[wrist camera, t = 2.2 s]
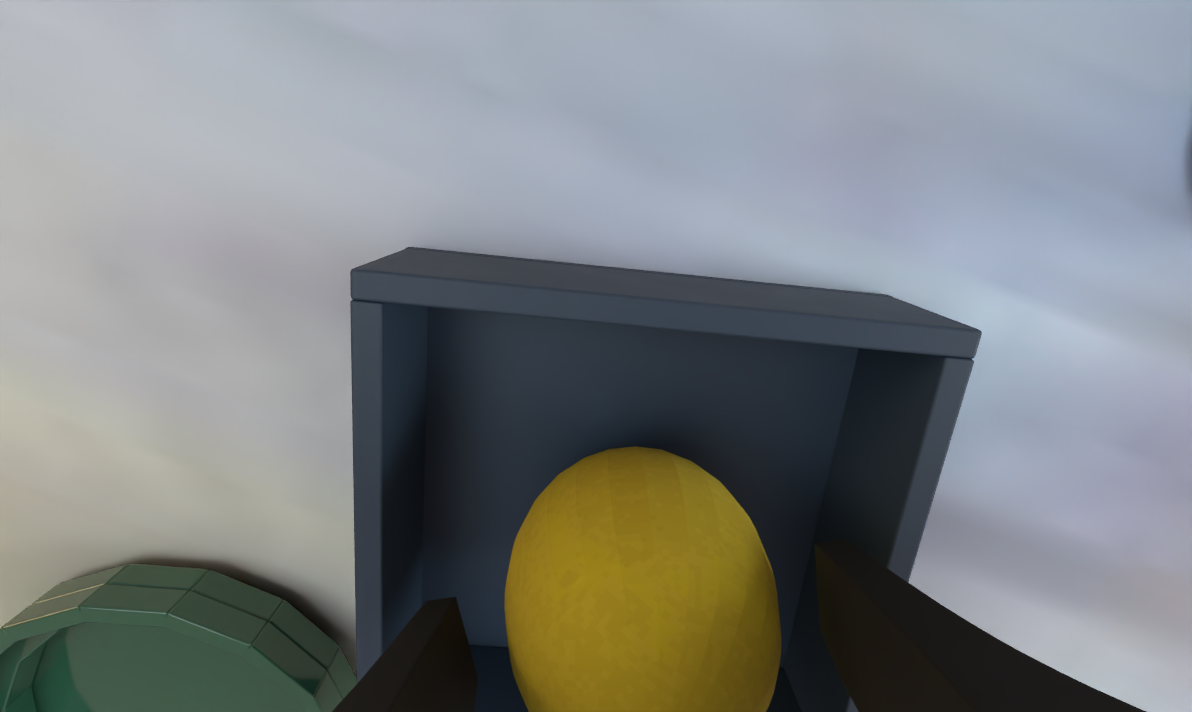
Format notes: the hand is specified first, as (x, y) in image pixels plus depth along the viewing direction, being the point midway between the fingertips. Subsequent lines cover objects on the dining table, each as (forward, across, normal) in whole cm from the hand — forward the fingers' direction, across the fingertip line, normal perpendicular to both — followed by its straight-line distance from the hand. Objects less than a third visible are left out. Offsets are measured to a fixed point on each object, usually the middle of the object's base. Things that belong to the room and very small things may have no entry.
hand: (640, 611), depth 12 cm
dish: (+5, +14, +5) cm, 16 cm away
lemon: (+5, 0, 0) cm, 5 cm away
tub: (+5, 0, 0) cm, 5 cm away
